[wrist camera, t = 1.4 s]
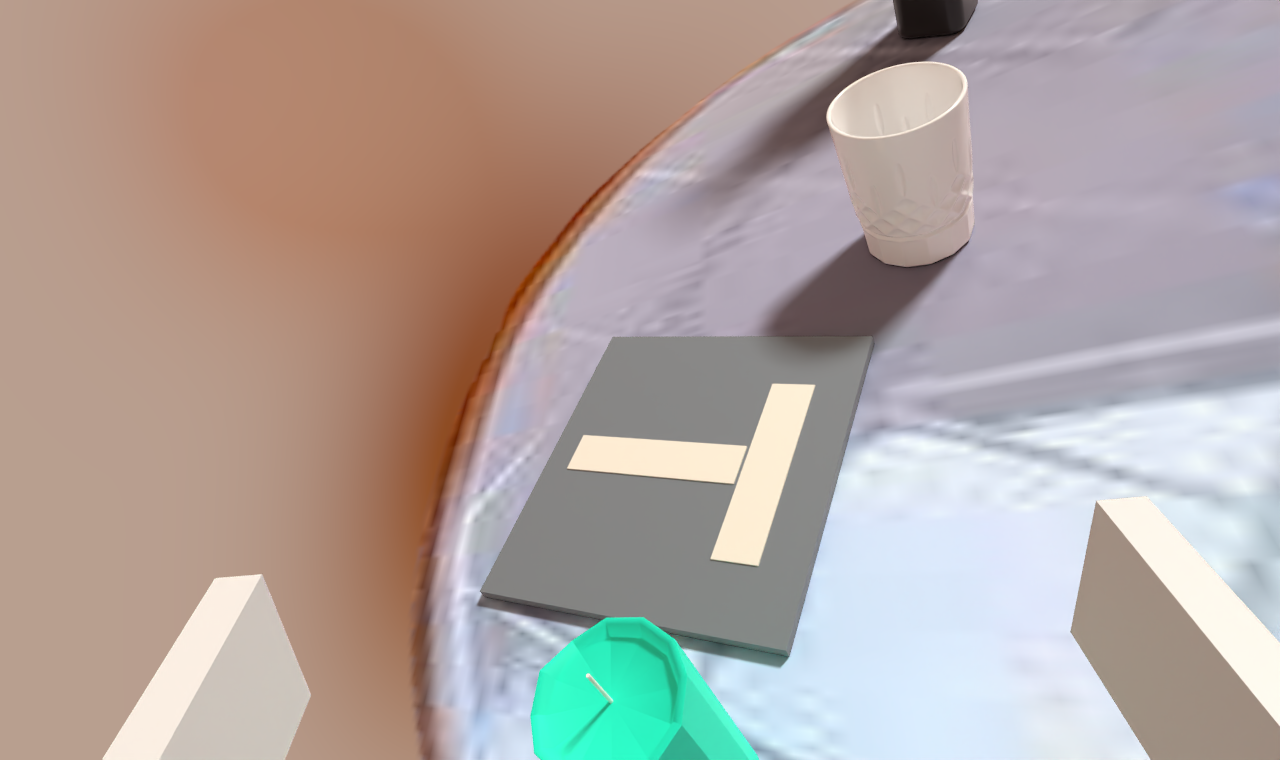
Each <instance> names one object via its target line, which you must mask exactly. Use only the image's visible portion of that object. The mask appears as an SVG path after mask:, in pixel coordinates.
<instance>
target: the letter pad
mask: <svg viewBox="0 0 1280 760" xmlns="http://www.w3.org/2000/svg"><path fill="white" fill-rule="evenodd" d="M873 347H874V340H873V336H747V337H612V339H611V341H610V343H609V345H608V347H607V349H606V351H605V353H604V355H603V357H602V359H601V360H600V362H599V364H598V366H597V368H596V370H595V372H594V374H593V376H592V378H591V380H590V382H589V383H588V385H587V387H586V389H585V391H584V393H583V395H582V397H581V399H580V401H579V403H578V404H577V406H576V408H575V410H574V412H573V414H572V416H571V418H570V420H569V422H568V424H567V426H566V427H565V429H564V431H563V433H562V435H561V437H560V439H559V441H558V443H557V445H556V447H555V449H554V450H553V452H552V454H551V456H550V458H549V460H548V462H547V464H546V466H545V468H544V470H543V472H542V473H541V475H540V477H539V479H538V481H537V483H536V485H535V487H534V489H533V491H532V493H531V495H530V496H529V498H528V500H527V502H526V504H525V506H524V508H523V510H522V512H521V514H520V516H519V518H518V519H517V521H516V523H515V525H514V527H513V529H512V531H511V533H510V535H509V537H508V539H507V540H506V542H505V544H504V546H503V548H502V550H501V552H500V554H499V556H498V558H497V560H496V562H495V563H494V565H493V567H492V569H491V571H490V573H489V575H488V577H487V579H486V581H485V583H484V585H483V586H482V588H481V590H480V592H481V593H482V594H483V595H484V596H485V597H489V598H494V599H499V600H504V601H509V602H514V603H519V604H524V605H529V606H534V607H539V608H545V609H550V610H555V611H560V612H565V613H570V614H575V615H580V616H585V617H590V618H595V619H600V620H603V619H605V618H617V617H644V618H645V619H647V620H648V621H650V622H651V623H653V624H654V625H655V626H657V627H658V628H660V629H661V630H663V631H664V632H666V633H672V634H677V635H682V636H687V637H692V638H697V639H702V640H707V641H712V642H717V643H722V644H727V645H733V646H738V647H743V648H748V649H753V650H758V651H763V652H768V653H773V654H778V655H783V656H788V657H789V656H790V652H791V649H792V645H793V641H794V638H795V634H796V630H797V626H798V623H799V619H800V615H801V612H802V608H803V604H804V601H805V597H806V593H807V590H808V586H809V582H810V579H811V575H812V571H813V568H814V564H815V560H816V557H817V553H818V549H819V545H820V542H821V538H822V534H823V531H824V527H825V523H826V520H827V516H828V512H829V509H830V505H831V501H832V498H833V494H834V490H835V487H836V483H837V479H838V476H839V472H840V468H841V465H842V461H843V457H844V453H845V450H846V446H847V442H848V439H849V435H850V431H851V428H852V424H853V420H854V417H855V413H856V409H857V406H858V402H859V398H860V395H861V391H862V387H863V384H864V380H865V376H866V372H867V369H868V365H869V361H870V358H871V354H872V350H873Z"/></svg>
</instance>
